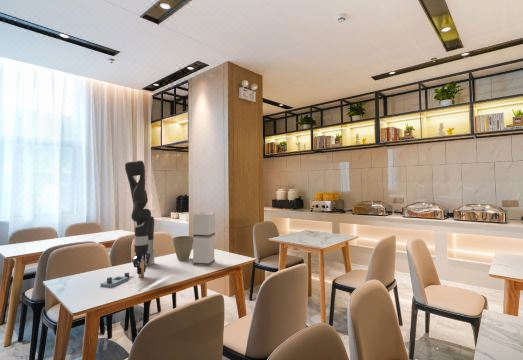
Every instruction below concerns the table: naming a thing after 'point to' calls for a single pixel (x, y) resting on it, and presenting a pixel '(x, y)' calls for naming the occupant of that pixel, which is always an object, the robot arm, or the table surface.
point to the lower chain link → (127, 276)
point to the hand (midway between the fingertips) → (141, 272)
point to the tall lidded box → (203, 239)
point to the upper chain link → (113, 281)
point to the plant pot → (183, 247)
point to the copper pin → (142, 270)
